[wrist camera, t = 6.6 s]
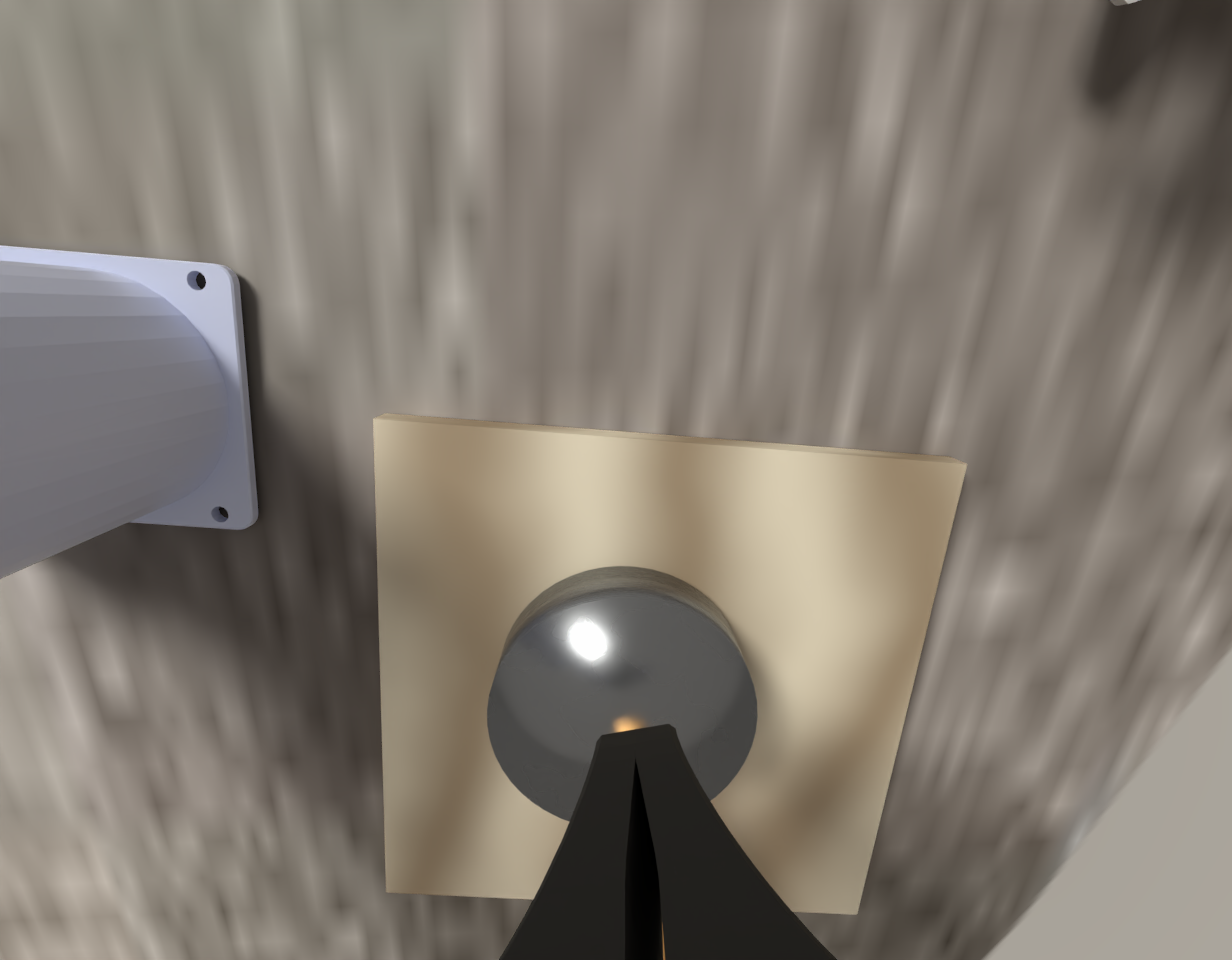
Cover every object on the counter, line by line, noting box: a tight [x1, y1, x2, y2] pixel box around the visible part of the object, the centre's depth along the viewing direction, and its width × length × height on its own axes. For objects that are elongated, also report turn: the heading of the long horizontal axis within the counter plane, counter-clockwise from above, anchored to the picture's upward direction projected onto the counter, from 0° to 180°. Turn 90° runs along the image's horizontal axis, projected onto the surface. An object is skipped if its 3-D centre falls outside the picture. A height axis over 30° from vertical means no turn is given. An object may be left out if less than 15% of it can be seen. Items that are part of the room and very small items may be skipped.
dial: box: [487, 566, 758, 960], centre depth 18 cm, size 13×8×5 cm, turn 16°
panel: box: [373, 413, 967, 915], centre depth 21 cm, size 18×18×1 cm
